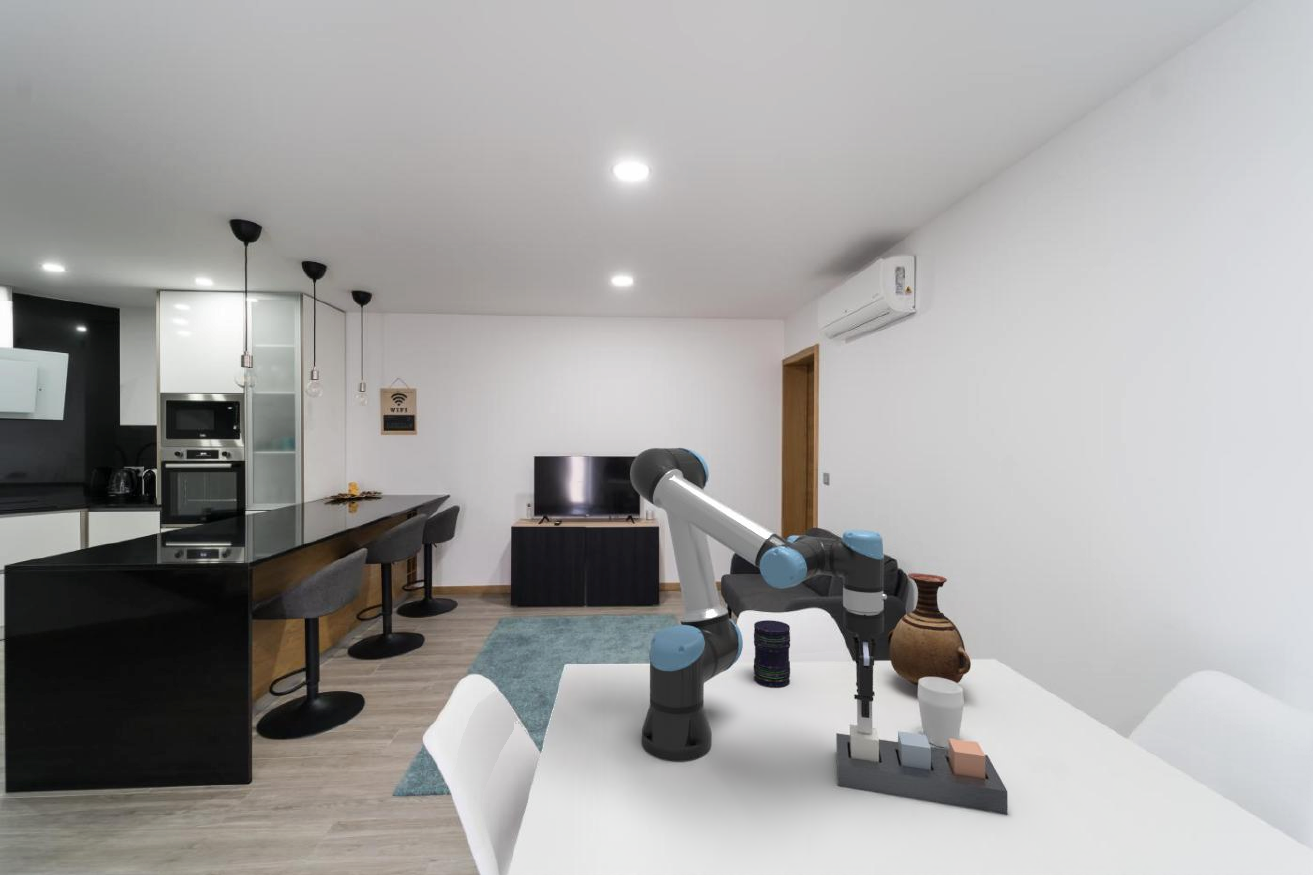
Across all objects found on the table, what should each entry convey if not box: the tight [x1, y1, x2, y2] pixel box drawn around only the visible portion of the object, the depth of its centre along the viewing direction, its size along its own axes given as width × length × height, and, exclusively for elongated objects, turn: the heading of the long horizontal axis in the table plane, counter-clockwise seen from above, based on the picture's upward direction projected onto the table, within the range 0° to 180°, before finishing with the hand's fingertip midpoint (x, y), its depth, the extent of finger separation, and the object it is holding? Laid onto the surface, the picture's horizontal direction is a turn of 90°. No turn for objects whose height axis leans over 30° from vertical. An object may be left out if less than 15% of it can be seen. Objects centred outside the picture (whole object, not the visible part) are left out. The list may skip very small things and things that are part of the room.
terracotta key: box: [948, 738, 986, 779], centre depth 103 cm, size 5×5×5 cm
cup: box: [917, 677, 965, 749], centre depth 121 cm, size 9×9×12 cm
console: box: [835, 733, 1009, 815], centre depth 106 cm, size 28×12×4 cm, turn 73°
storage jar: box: [753, 619, 791, 689], centre depth 152 cm, size 10×10×15 cm
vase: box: [886, 572, 971, 687], centre depth 146 cm, size 21×18×30 cm
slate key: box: [897, 730, 931, 770], centre depth 106 cm, size 5×5×5 cm
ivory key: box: [849, 724, 879, 762], centre depth 108 cm, size 5×5×5 cm
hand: (864, 730), depth 108 cm, fingers closed
